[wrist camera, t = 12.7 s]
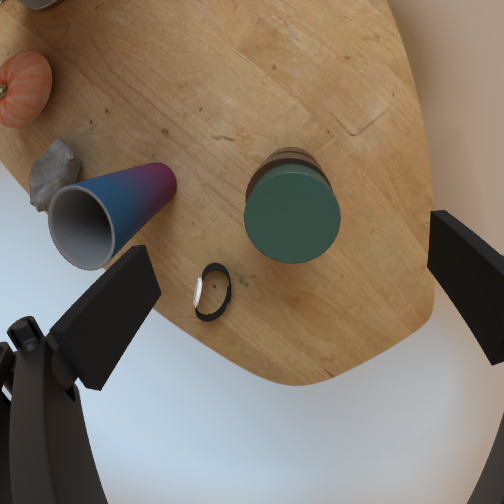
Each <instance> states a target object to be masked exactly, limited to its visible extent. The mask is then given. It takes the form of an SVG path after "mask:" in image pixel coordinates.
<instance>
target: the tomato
mask: <svg viewBox="0 0 504 504" xmlns="http://www.w3.org/2000/svg"><path fill="white" fill-rule="evenodd" d="M51 88H52V71H51V67H50V65H49V63H48V61H47V60H46V59H45V58H44V57H43V56H42V55H41V54H39V53H37V52H34V51H22V52H19V53H17V54H15V55H14V56H12V57H10V58H9V59H8V60H7V61H6V62H5V63H4V64H3V65H2V66H1V67H0V124H2V125H4V126H6V127H9V128H20V127H22V126H25V125H27V124H28V123H30V122H32V121H33V120H34V119H35V118H36V117H37V116H38V115H39V114H40V113H41V111H42V110H43V109H44V107H45V105H46V103H47V101H48V99H49V96H50V92H51Z"/></svg>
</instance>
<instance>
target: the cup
mask: <svg viewBox="0 0 504 504" xmlns="http://www.w3.org/2000/svg"><path fill="white" fill-rule="evenodd" d="M176 186H177V184H176V178H175V175H174V173H173V172H172V171H171V169H170V168H169V167H167V166H166V165H164V164H161V163H151V164H146V165H142V166H138V167H134V168H129V169H125V170H122V171H118V172H114V173H110V174H106V175H103V176H99V177H96V178H92V179H89V180H85V181H82V182H78V183H75V184H72V185H69V186H66V187H64V188H62V189H60V190H59V191H58V192H57V193H56V194H55V195H54V197H53V198H52V201H51V203H50V206H49V210H48V225H49V230H50V234H51V237H52V239H53V242H54V244H55V246H56V248H57V249H58V250H59V252H60V253H61V255H62V256H63V257H64V258H65V259H66V260H67V261H68V262H70V263H71V264H72V265H74V266H76V267H78V268H80V269H84V270H90V271H91V270H98V269H100V268H102V267H104V266H105V265H106V264H107V263H108V262H109V261H110V260H111V259H112V258H113V257H114V256H115V255H116V254H117V253H118V251H119V250H120V249H121V248H122V247H123V246H124V245H125V244H126V243H127V242H128V241H129V240H130V239H131V238H132V237H133V236H134V235H135V234H136V233H137V232H138V231H139V230H140V229H141V228H142V227H143V226H144V225H145V224H146V223H147V222H148V221H149V220H150V219H151V218H152V217H153V216H154V215H155V214H156V213H157V212H158V211H159V210H160V209H161V208H162V207H163V206H164V205H165V204H167V203H168V202H169V201H170V200H171V199H172V197H173V196H174V194H175V191H176Z"/></svg>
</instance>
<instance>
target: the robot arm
mask: <svg viewBox="0 0 504 504" xmlns="http://www.w3.org/2000/svg"><path fill="white" fill-rule="evenodd" d="M0 1H1V0H0ZM18 1H19V2H20V3H21V4H23V5H24V6H25V7H27V8H29V9H33V10H39V11H41V10H46V9H49V8H52V7H54V6H56V5H57V4H59V3H61V2H62V1H63V0H18ZM427 268H428V269H429V270H430V272H431V273H432V274H433V276H434V277H435V278H436V280H437V281H438V282H439V284H440V285H441V286H442V288H443V289H444V291H445V292H446V294H447V295H448V296H449V298H450V299H451V301H452V302H453V304H454V305H455V307H456V308H457V309H458V311H459V313H460V314H461V316H462V317H463V319H464V320H465V322H466V323H467V325H468V327H469V328H470V330H471V331H472V333H473V334H474V336H475V338H476V339H477V341H478V343H479V344H480V346H481V348H482V349H483V351H484V353H485V354H486V356H487V358H488V360H489V361H490V363H491V365H495V364H498V363H501V362H504V256H503V255H501V254H499V253H498V252H497V251H496V250H494V249H493V248H492V247H491V246H490V245H489V244H487V243H486V242H485V241H484V240H482V239H481V238H480V237H479V236H478V235H477V234H475V233H474V232H473V231H472V230H470V229H469V228H468V227H466V226H465V225H464V224H463V223H461V222H460V221H459V220H457V219H456V218H455V217H453V216H452V215H451V214H449V213H448V212H447V211H445V210H439V211H431V216H430V237H429V252H428V263H427ZM161 294H162V293H161V290H160V288H159V285H158V282H157V279H156V276H155V273H154V270H153V267H152V264H151V261H150V258H149V255H148V252H147V249H146V246H145V245H138V246H132V247H131V248H130V249H129V250H128V251H126V252H125V253H124V254H123V255H122V256H121V257H120V258H119V259H118V260H117V261H116V262H115V263H114V264H113V265H112V266H111V267H110V268H109V269H108V270H107V271H106V272H105V273H104V274H103V275H102V276H100V277H99V279H98V280H96V282H95V283H93V284H92V285H91V286H90V287H89V289H88V290H87V291H86V292H85V293H84V294H83V295H82V296H81V297H80V298H79V299H78V300H77V301H76V302H75V303H74V304H73V305H72V306H71V307H70V308H69V309H68V310H67V311H66V312H65V314H64V315H63V316H62V317H61V318H60V319H59V320H58V321H57V322H56V323H55V324H54V326H53V327H52V328H51V329H50V332H49V333H48V334H47V335H46V337H45V336H44V335H43V333H42V331H41V330H40V328H39V326H38V324H37V322H36V320H35V319H34V317H32V316H26V317H23V318H21V319H19V320H17V321H16V322H15V323H14V324H12V325H11V326H10V327H9V329H8V331H7V334H8V336H9V337H10V339H11V341H12V342H13V344H14V345H15V347H16V349H17V350H18V351H15V352H13V351H12V349H11V347H10V346H9V344H8V343H7V342H0V504H108V502H107V499H106V497H105V494H104V491H103V488H102V485H101V482H100V479H99V475H98V472H97V469H96V466H95V462H94V458H93V455H92V451H91V447H90V443H89V439H88V435H87V430H86V426H85V421H84V416H83V412H82V406H81V400H80V395H79V390H78V387H77V386H76V384H75V383H74V382H75V381H76V379H77V378H78V377H79V379H80V380H81V382H82V383H83V384H84V386H85V387H86V388H88V389H93V390H99V391H101V390H102V388H103V386H104V384H105V383H106V381H107V380H108V378H109V376H110V375H111V373H112V371H113V370H114V368H115V366H116V365H117V363H118V361H119V360H120V358H121V356H122V355H123V353H124V352H125V350H126V348H127V346H128V345H129V344H130V342H131V340H132V339H133V337H134V336H135V334H136V333H137V331H138V329H139V328H140V326H141V325H142V323H143V322H144V320H145V318H146V317H147V315H148V314H149V312H150V311H151V309H152V308H153V306H154V305H155V303H156V302H157V300H158V299H159V297H160V296H161ZM3 385H4V386H5V388H6V389H7V390H8V391H9V393H10V394H11V395H12V398H11V401H10V400H9V399H8V398H7V397H6V396H5V394H4V393H3V392H2V387H3ZM467 504H504V413H503V417H502V420H501V423H500V426H499V429H498V432H497V435H496V438H495V441H494V444H493V446H492V449H491V452H490V455H489V457H488V459H487V462H486V464H485V467H484V469H483V471H482V473H481V476H480V478H479V480H478V482H477V484H476V486H475V488H474V491H473V493H472V495H471V496H470V499H469V500H468V502H467Z"/></svg>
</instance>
